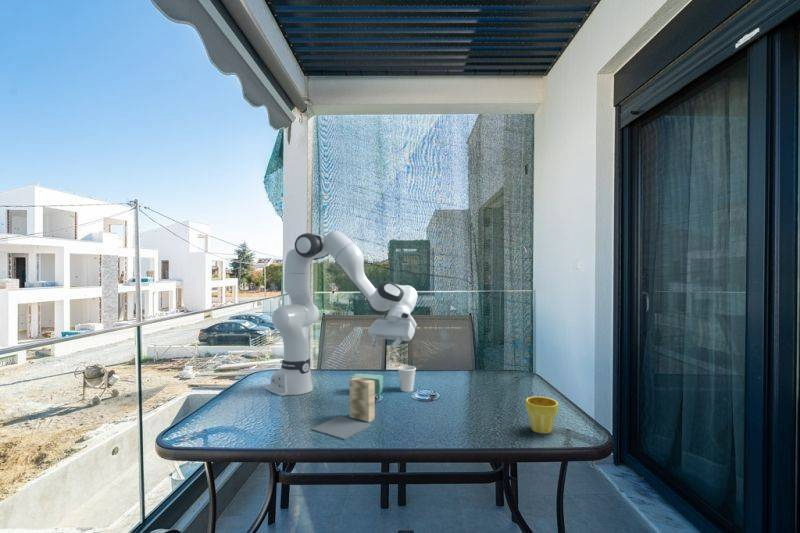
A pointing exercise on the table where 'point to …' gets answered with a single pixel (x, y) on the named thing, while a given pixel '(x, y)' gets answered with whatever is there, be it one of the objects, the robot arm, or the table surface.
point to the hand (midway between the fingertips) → (383, 346)
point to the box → (377, 378)
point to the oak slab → (362, 399)
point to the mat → (341, 427)
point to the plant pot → (541, 413)
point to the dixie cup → (406, 377)
